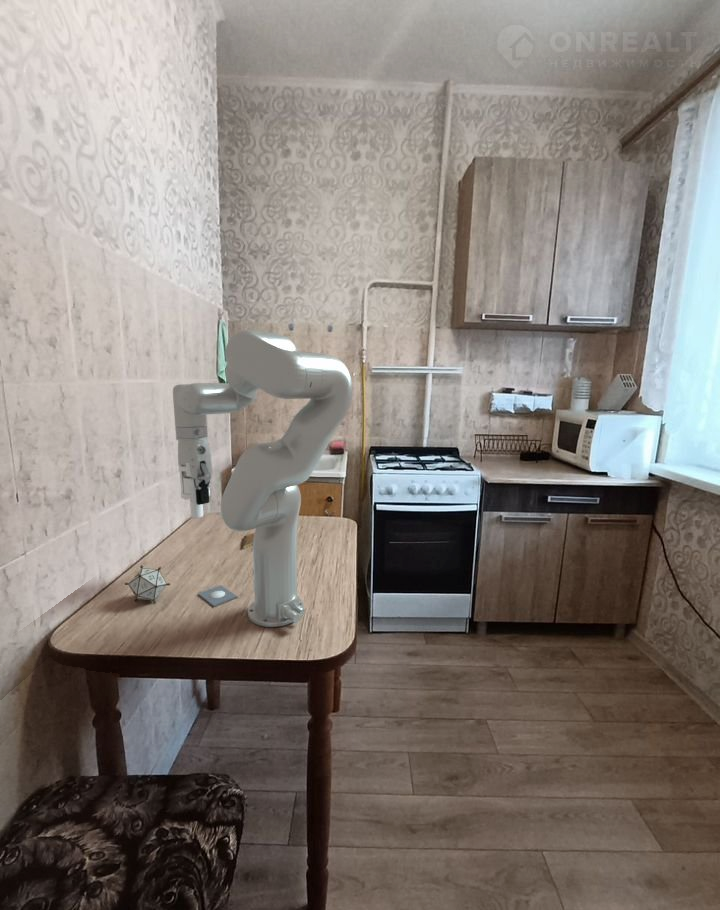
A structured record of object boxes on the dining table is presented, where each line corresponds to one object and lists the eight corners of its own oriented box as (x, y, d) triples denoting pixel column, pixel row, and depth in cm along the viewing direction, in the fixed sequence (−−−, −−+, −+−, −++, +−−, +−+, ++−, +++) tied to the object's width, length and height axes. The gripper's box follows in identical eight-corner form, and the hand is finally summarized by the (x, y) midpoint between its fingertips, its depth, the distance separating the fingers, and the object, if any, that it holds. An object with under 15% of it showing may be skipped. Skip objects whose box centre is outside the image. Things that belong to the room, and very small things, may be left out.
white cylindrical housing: (178, 520, 105) (173, 462, 103) (189, 512, 112) (185, 458, 110) (205, 520, 105) (202, 462, 103) (215, 512, 112) (211, 457, 110)
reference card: (237, 597, 100) (237, 595, 100) (214, 607, 96) (213, 605, 96) (220, 586, 106) (220, 584, 106) (198, 594, 102) (198, 592, 101)
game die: (143, 612, 100) (129, 574, 103) (178, 595, 103) (163, 558, 105) (129, 613, 92) (114, 572, 94) (168, 594, 94) (152, 554, 97)
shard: (242, 551, 129) (242, 545, 129) (227, 545, 134) (227, 540, 134) (269, 541, 138) (269, 536, 138) (254, 535, 142) (254, 530, 142)
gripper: (222, 434, 102) (226, 504, 105) (191, 430, 114) (195, 492, 117) (192, 437, 97) (197, 510, 99) (163, 432, 108) (168, 497, 111)
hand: (196, 500), depth 108 cm, fingers closed on white cylindrical housing, 6 cm apart
